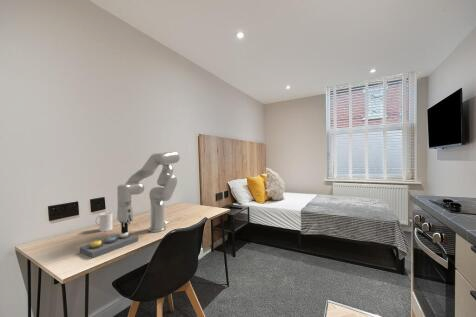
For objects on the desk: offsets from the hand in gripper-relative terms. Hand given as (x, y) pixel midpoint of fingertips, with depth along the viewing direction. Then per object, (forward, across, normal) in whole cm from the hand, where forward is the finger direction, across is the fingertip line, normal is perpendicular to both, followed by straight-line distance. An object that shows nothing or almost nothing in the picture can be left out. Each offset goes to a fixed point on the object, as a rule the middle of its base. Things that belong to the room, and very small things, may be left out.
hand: (124, 232), depth 127 cm
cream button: (+2, 0, 0) cm, 2 cm away
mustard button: (+2, 0, +16) cm, 17 cm away
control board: (+6, 0, +8) cm, 10 cm away
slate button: (+2, 0, +8) cm, 9 cm away
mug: (+6, +36, -6) cm, 37 cm away
